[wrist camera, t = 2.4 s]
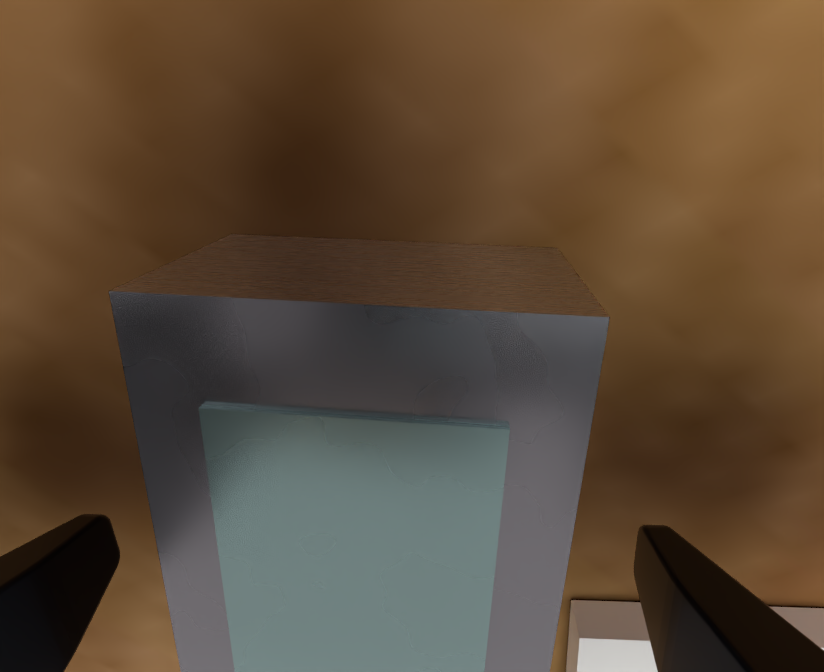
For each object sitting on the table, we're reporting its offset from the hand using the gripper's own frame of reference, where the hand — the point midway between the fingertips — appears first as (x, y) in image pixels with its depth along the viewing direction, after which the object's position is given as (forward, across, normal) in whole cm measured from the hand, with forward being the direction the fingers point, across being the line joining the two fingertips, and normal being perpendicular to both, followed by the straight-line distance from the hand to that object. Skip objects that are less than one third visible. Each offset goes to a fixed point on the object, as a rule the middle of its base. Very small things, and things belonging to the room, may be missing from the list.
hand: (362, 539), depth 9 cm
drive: (+3, 0, 0) cm, 3 cm away
